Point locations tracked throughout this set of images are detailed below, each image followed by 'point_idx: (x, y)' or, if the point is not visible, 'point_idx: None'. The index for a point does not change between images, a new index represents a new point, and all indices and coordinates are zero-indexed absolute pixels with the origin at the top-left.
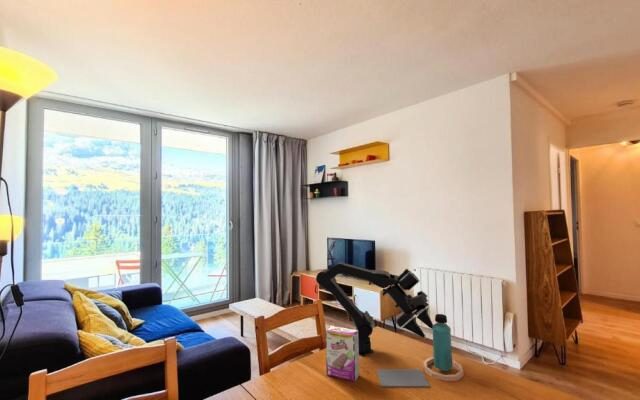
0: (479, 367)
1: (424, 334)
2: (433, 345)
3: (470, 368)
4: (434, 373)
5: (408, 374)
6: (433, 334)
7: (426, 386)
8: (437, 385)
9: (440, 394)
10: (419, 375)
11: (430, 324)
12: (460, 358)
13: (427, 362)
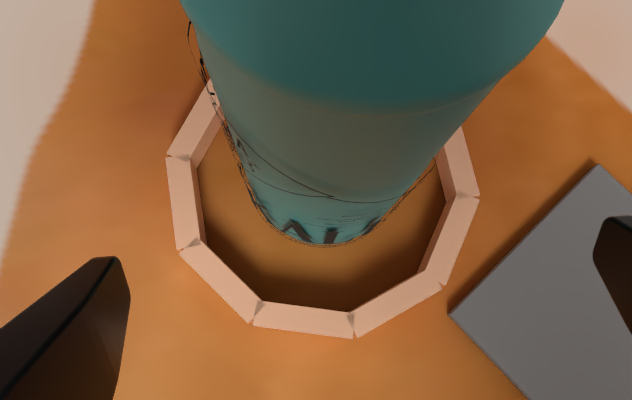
0: (101, 10)
1: (626, 227)
2: (415, 179)
3: (156, 50)
4: (472, 181)
5: (595, 354)
6: (475, 107)
7: (613, 180)
8: (531, 138)
9: (604, 87)
10: (539, 279)
11: (92, 336)
12: (41, 152)
13: (334, 311)
